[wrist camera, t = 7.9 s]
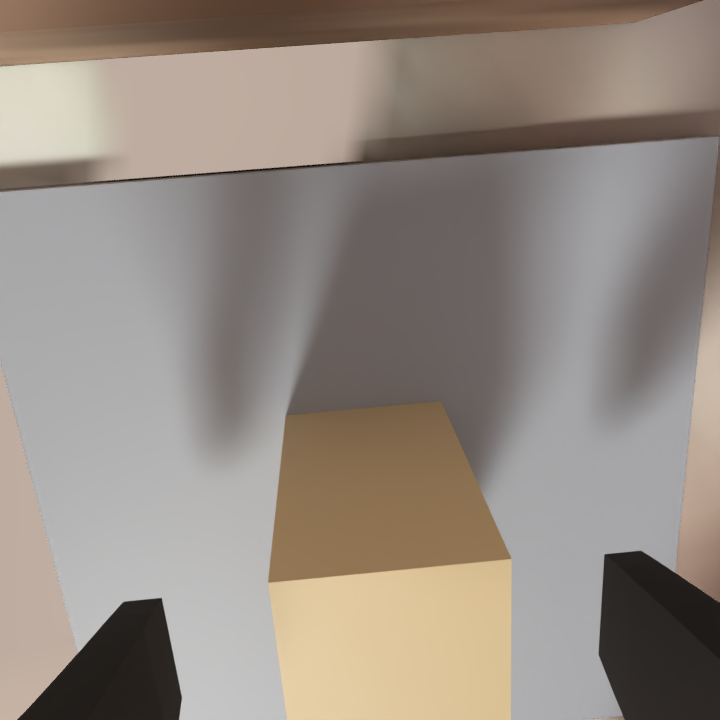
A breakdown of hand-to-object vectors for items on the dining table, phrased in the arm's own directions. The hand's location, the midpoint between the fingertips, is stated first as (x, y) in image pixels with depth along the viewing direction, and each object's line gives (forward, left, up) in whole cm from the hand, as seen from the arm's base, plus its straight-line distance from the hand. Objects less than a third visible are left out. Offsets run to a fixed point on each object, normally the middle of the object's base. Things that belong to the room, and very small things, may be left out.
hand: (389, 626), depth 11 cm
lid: (0, -1, -4) cm, 4 cm away
